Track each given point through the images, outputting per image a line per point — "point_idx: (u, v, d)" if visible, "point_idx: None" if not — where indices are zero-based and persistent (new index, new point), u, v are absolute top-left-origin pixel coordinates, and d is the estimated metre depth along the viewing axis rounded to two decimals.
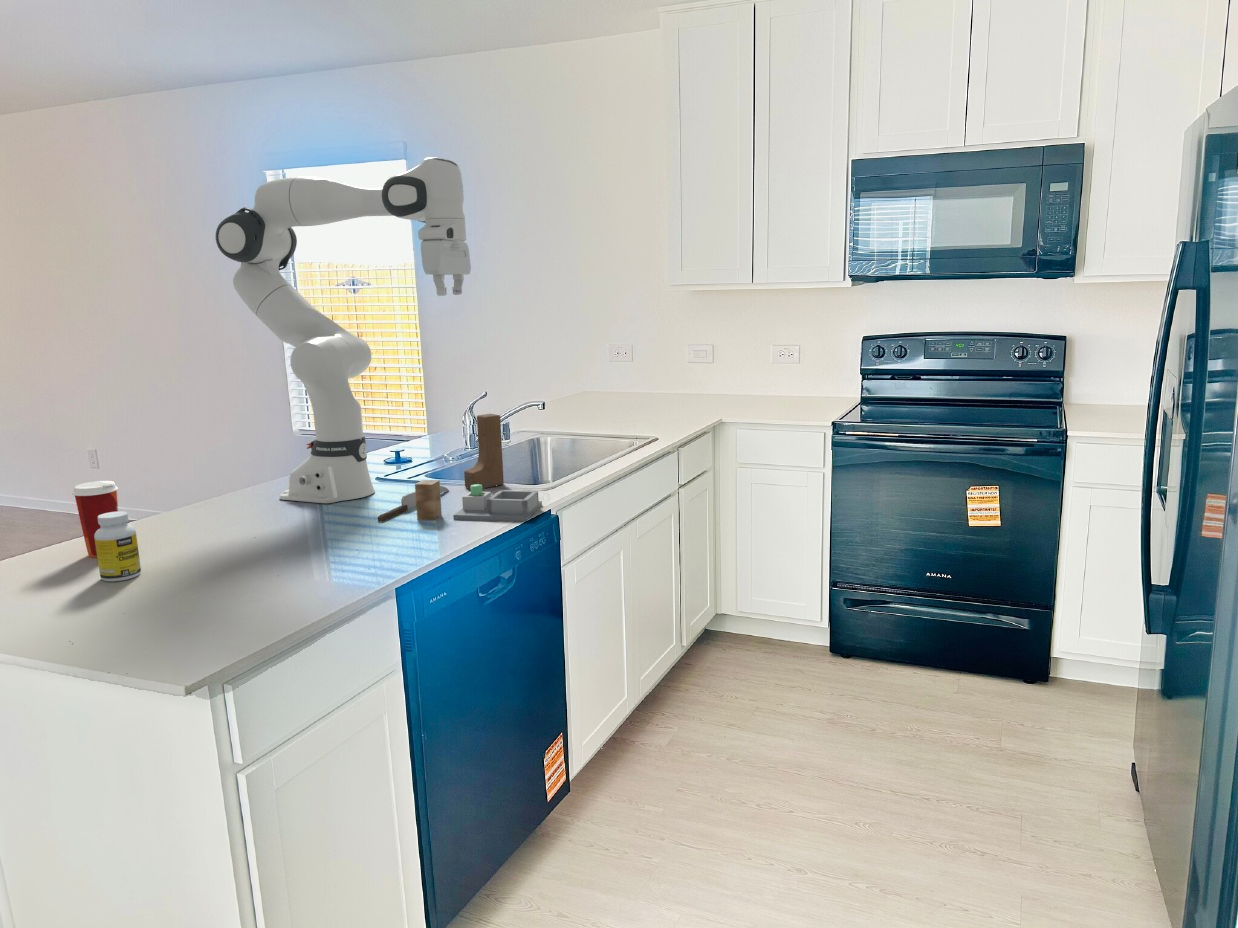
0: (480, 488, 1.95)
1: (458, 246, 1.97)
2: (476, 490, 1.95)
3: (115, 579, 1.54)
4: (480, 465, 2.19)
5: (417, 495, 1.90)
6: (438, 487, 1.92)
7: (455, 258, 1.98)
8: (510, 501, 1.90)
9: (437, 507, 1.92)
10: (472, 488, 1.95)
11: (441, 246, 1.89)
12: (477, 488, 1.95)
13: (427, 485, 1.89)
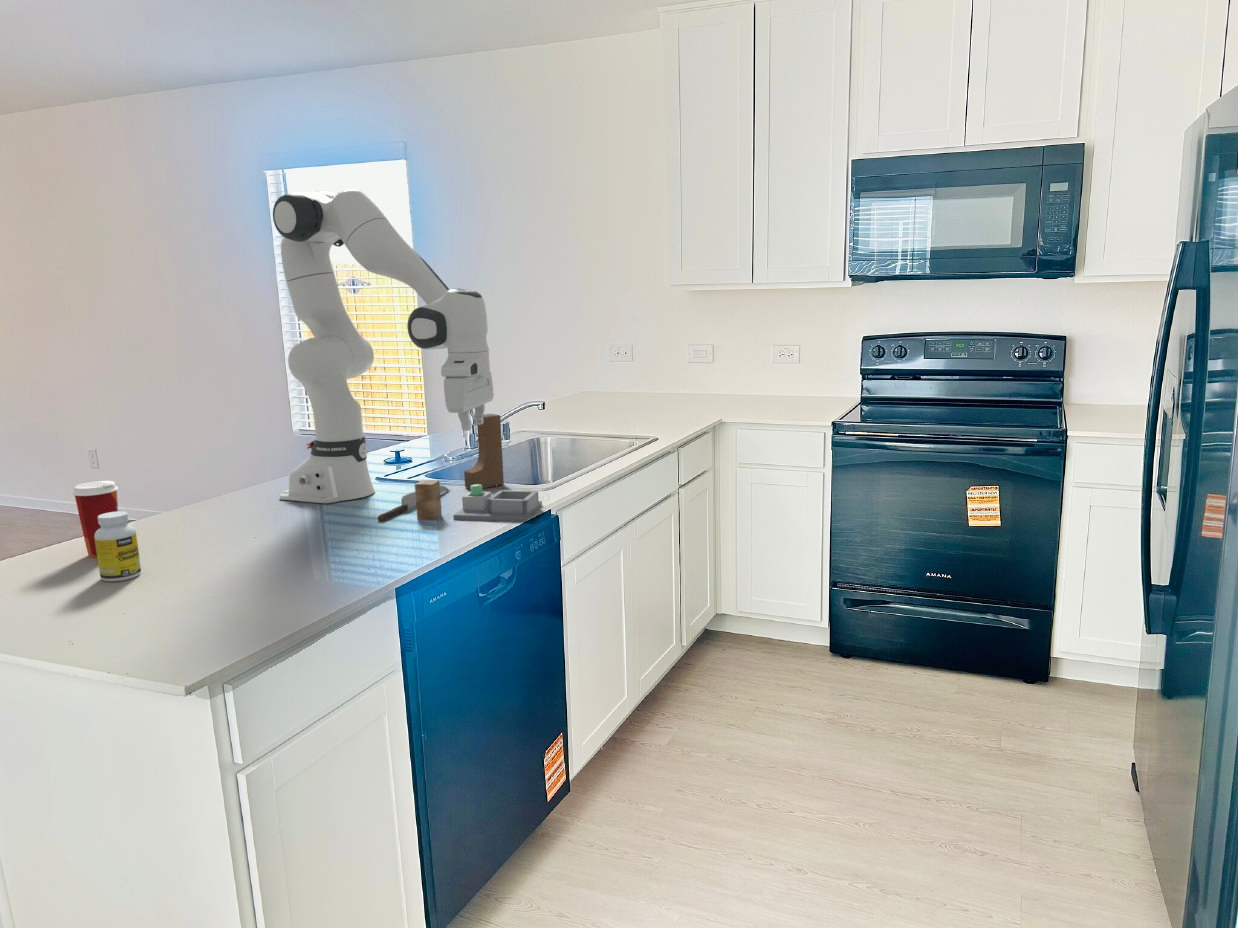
0: (480, 488, 1.95)
1: (482, 379, 1.90)
2: (476, 490, 1.95)
3: (115, 579, 1.54)
4: (480, 465, 2.19)
5: (417, 495, 1.90)
6: (438, 487, 1.92)
7: (478, 390, 1.91)
8: (510, 501, 1.90)
9: (437, 507, 1.92)
10: (472, 488, 1.95)
11: (465, 384, 1.82)
12: (477, 488, 1.95)
13: (427, 485, 1.89)
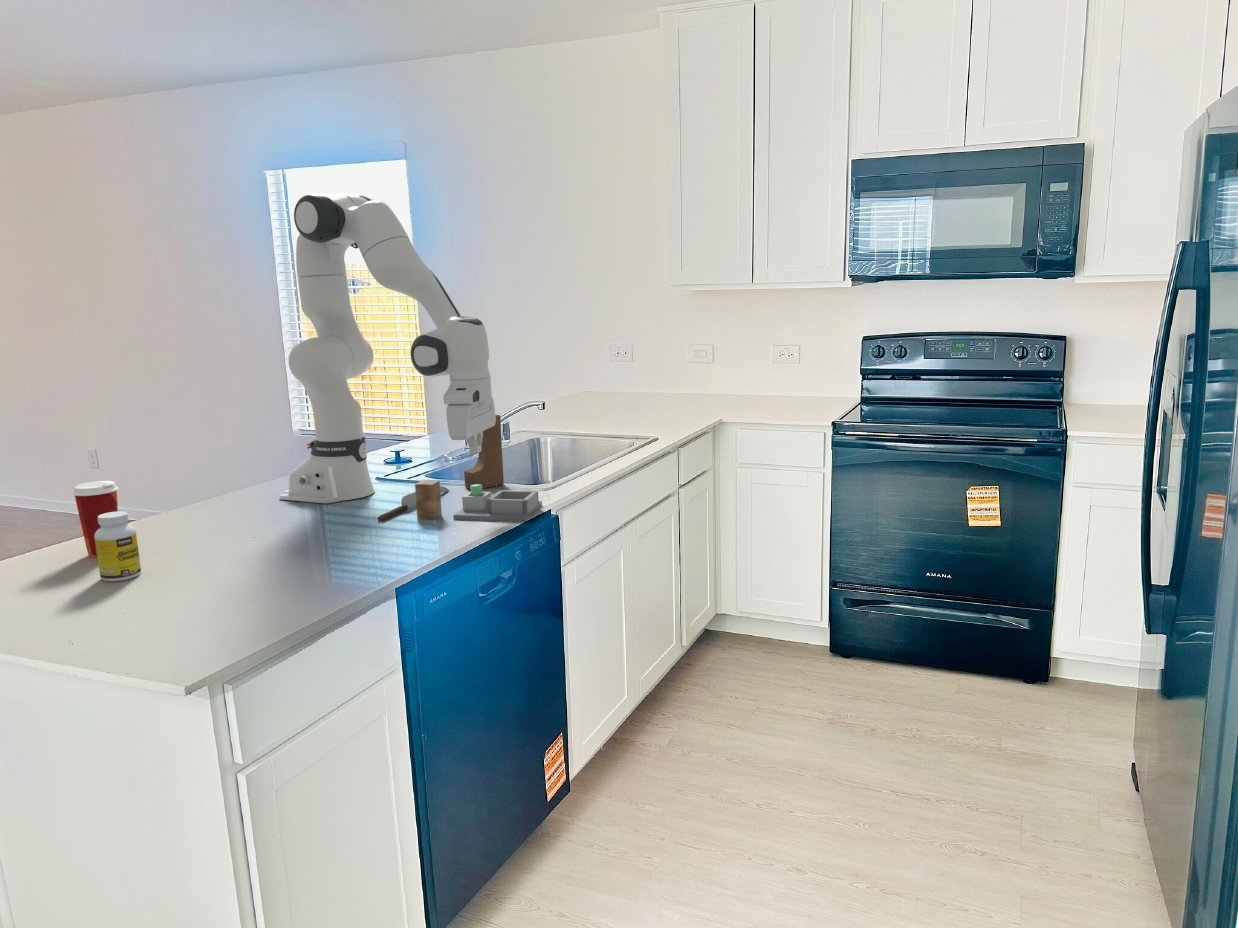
0: (480, 488, 1.95)
1: (484, 405, 1.91)
2: (476, 490, 1.95)
3: (115, 579, 1.54)
4: (480, 465, 2.19)
5: (417, 495, 1.90)
6: (438, 487, 1.92)
7: (481, 416, 1.92)
8: (510, 501, 1.90)
9: (437, 507, 1.92)
10: (472, 488, 1.95)
11: (467, 412, 1.83)
12: (477, 488, 1.95)
13: (427, 485, 1.89)
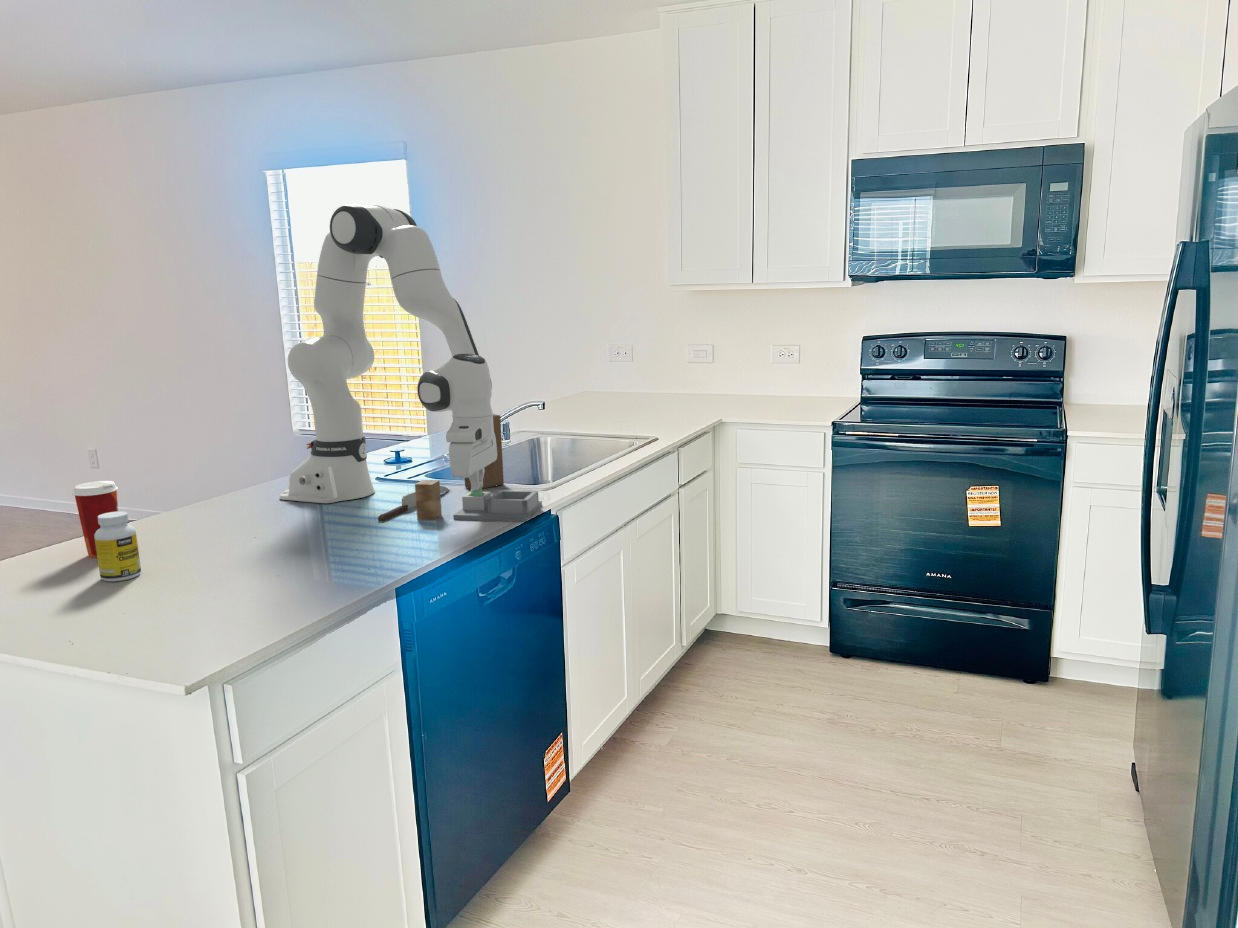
0: (480, 492, 1.95)
1: (486, 442, 1.92)
2: (476, 494, 1.95)
3: (115, 579, 1.54)
4: None
5: (417, 495, 1.90)
6: (438, 487, 1.92)
7: (483, 452, 1.94)
8: (510, 501, 1.90)
9: (437, 507, 1.92)
10: (472, 492, 1.95)
11: (470, 450, 1.85)
12: (477, 492, 1.95)
13: (427, 485, 1.89)
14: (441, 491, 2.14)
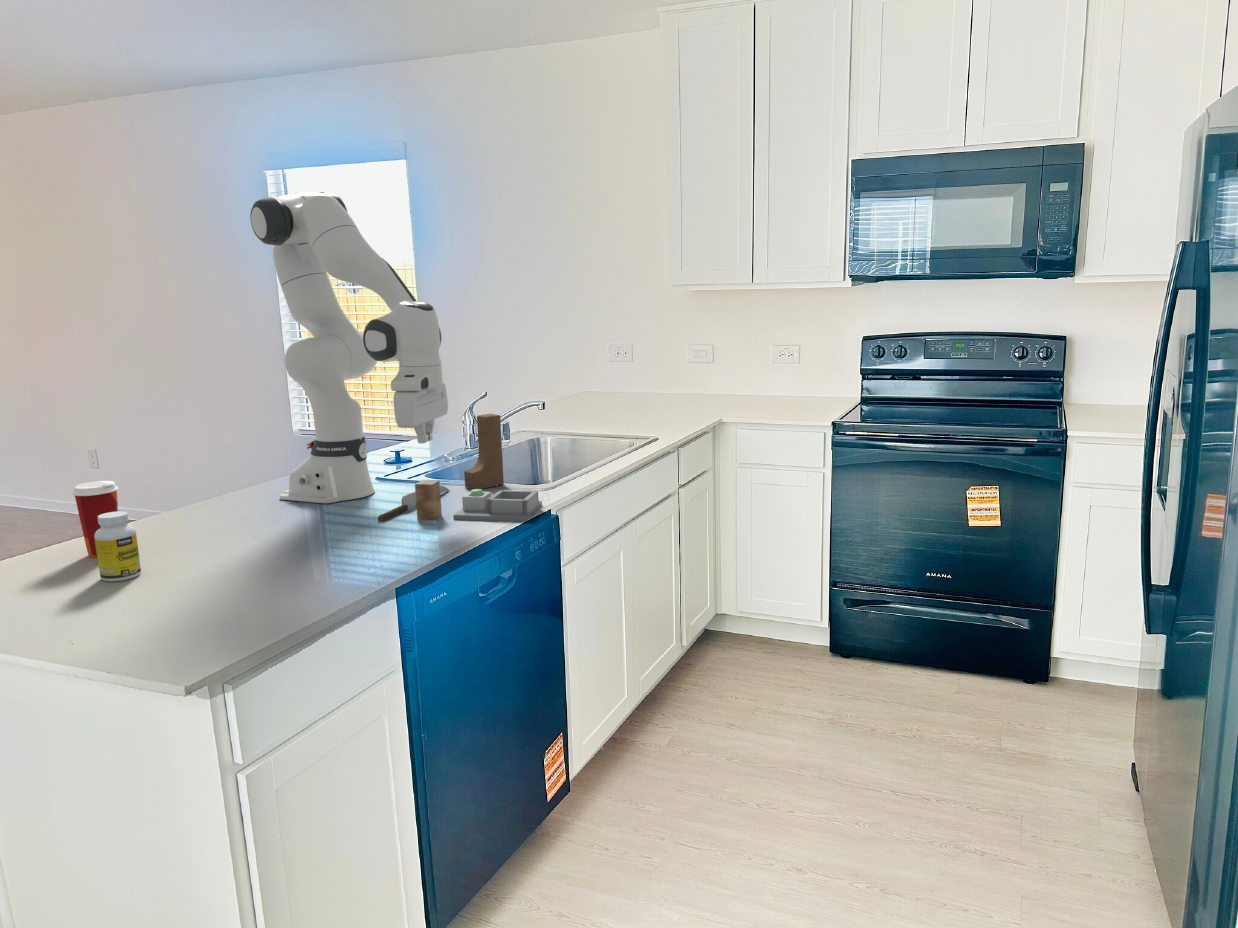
0: (480, 493, 1.95)
1: (434, 393, 1.86)
2: (476, 495, 1.95)
3: (115, 579, 1.54)
4: (480, 465, 2.19)
5: (417, 495, 1.90)
6: (438, 487, 1.92)
7: (431, 404, 1.88)
8: (510, 501, 1.90)
9: (437, 507, 1.92)
10: (472, 493, 1.95)
11: (415, 399, 1.78)
12: (477, 493, 1.95)
13: (427, 485, 1.89)
14: (441, 491, 2.14)
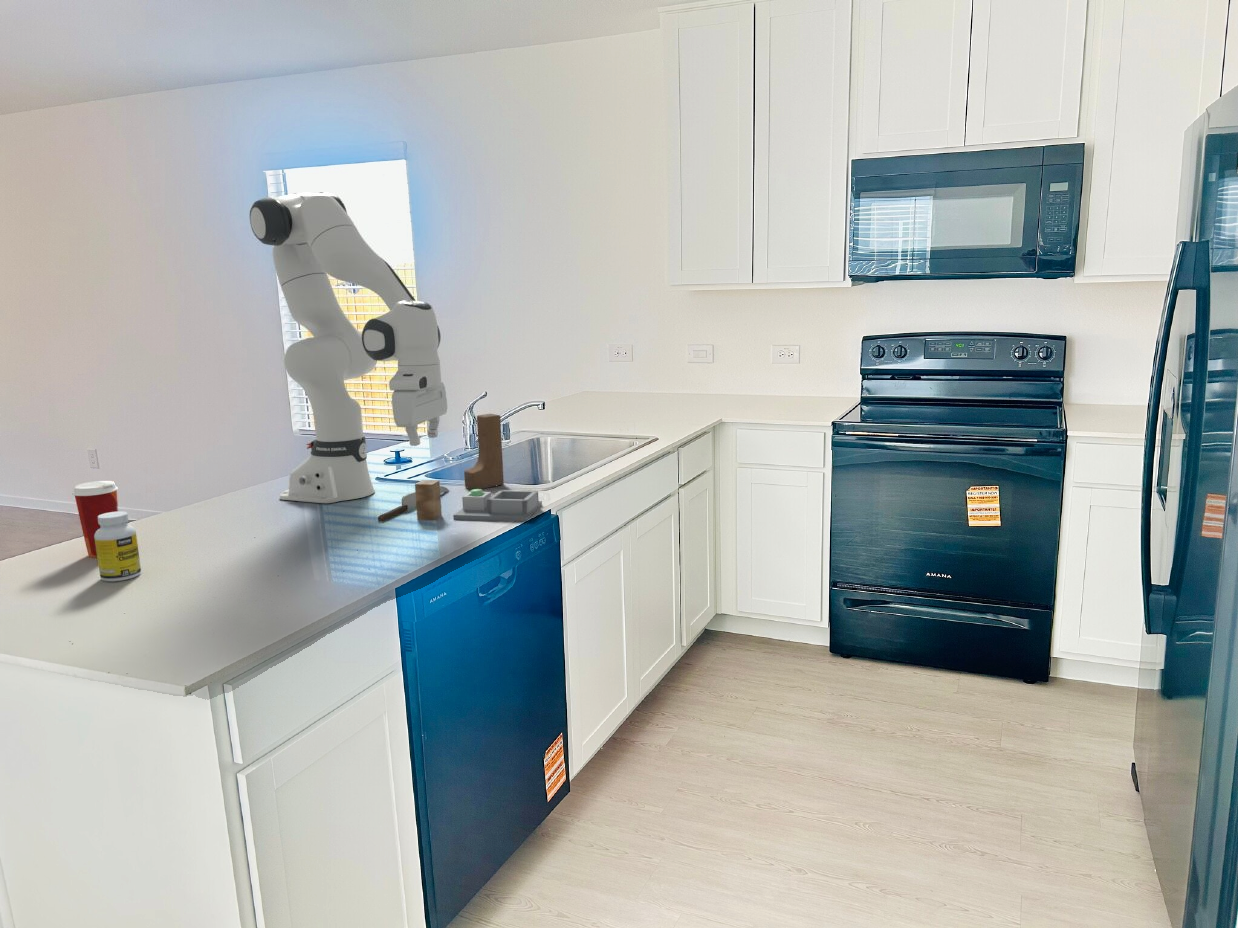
0: (480, 493, 1.95)
1: (432, 392, 1.86)
2: (476, 495, 1.95)
3: (115, 579, 1.54)
4: (480, 465, 2.19)
5: (417, 495, 1.90)
6: (438, 487, 1.92)
7: (429, 403, 1.88)
8: (510, 501, 1.90)
9: (437, 507, 1.92)
10: (472, 493, 1.95)
11: (413, 398, 1.78)
12: (477, 493, 1.95)
13: (427, 485, 1.89)
14: (441, 491, 2.14)
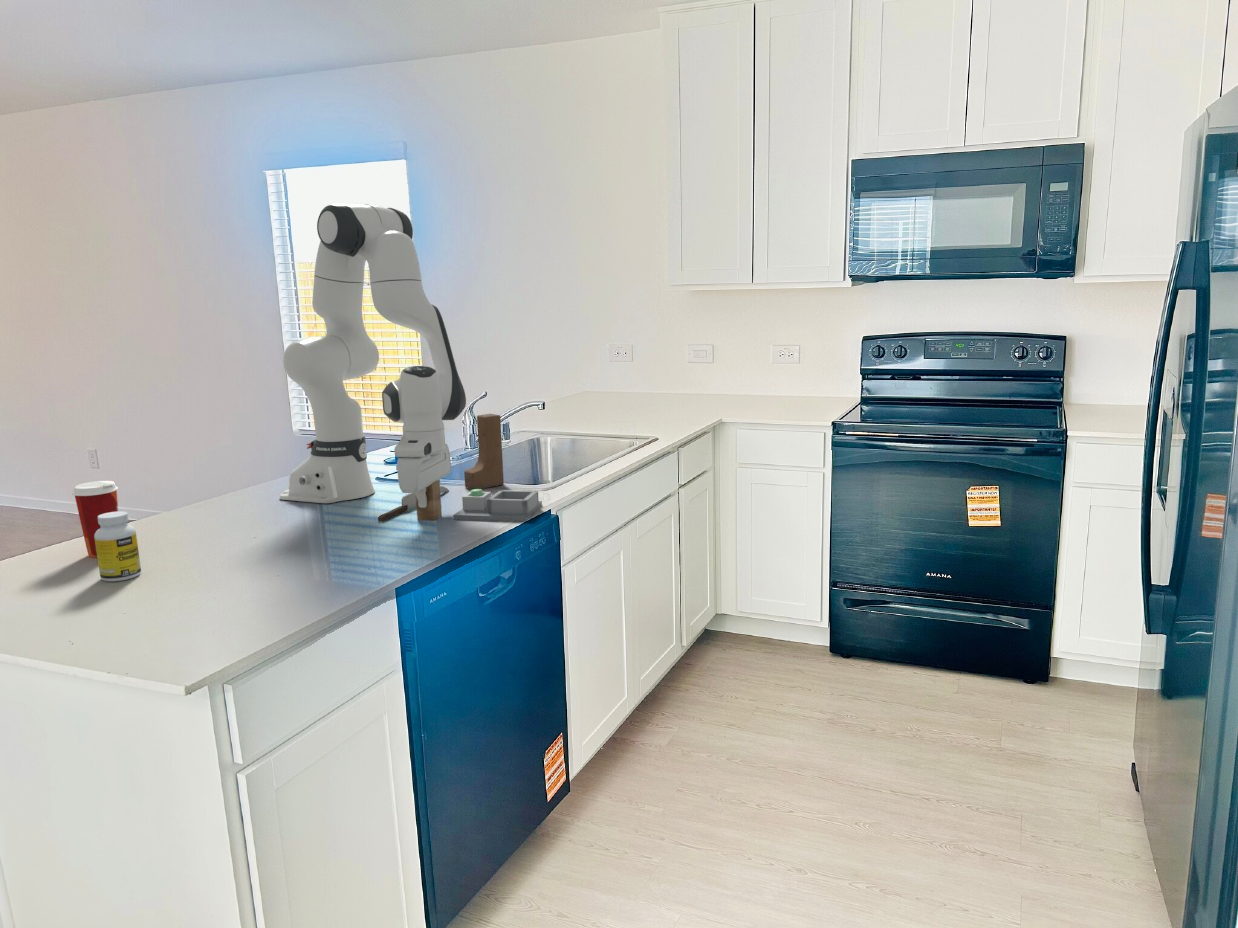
0: (480, 493, 1.95)
1: (437, 456, 1.89)
2: (476, 495, 1.95)
3: (115, 579, 1.54)
4: (480, 465, 2.19)
5: None
6: (438, 487, 1.92)
7: (434, 467, 1.90)
8: (510, 501, 1.90)
9: (437, 507, 1.92)
10: (472, 493, 1.95)
11: (418, 465, 1.81)
12: (477, 493, 1.95)
13: None
14: (441, 491, 2.14)
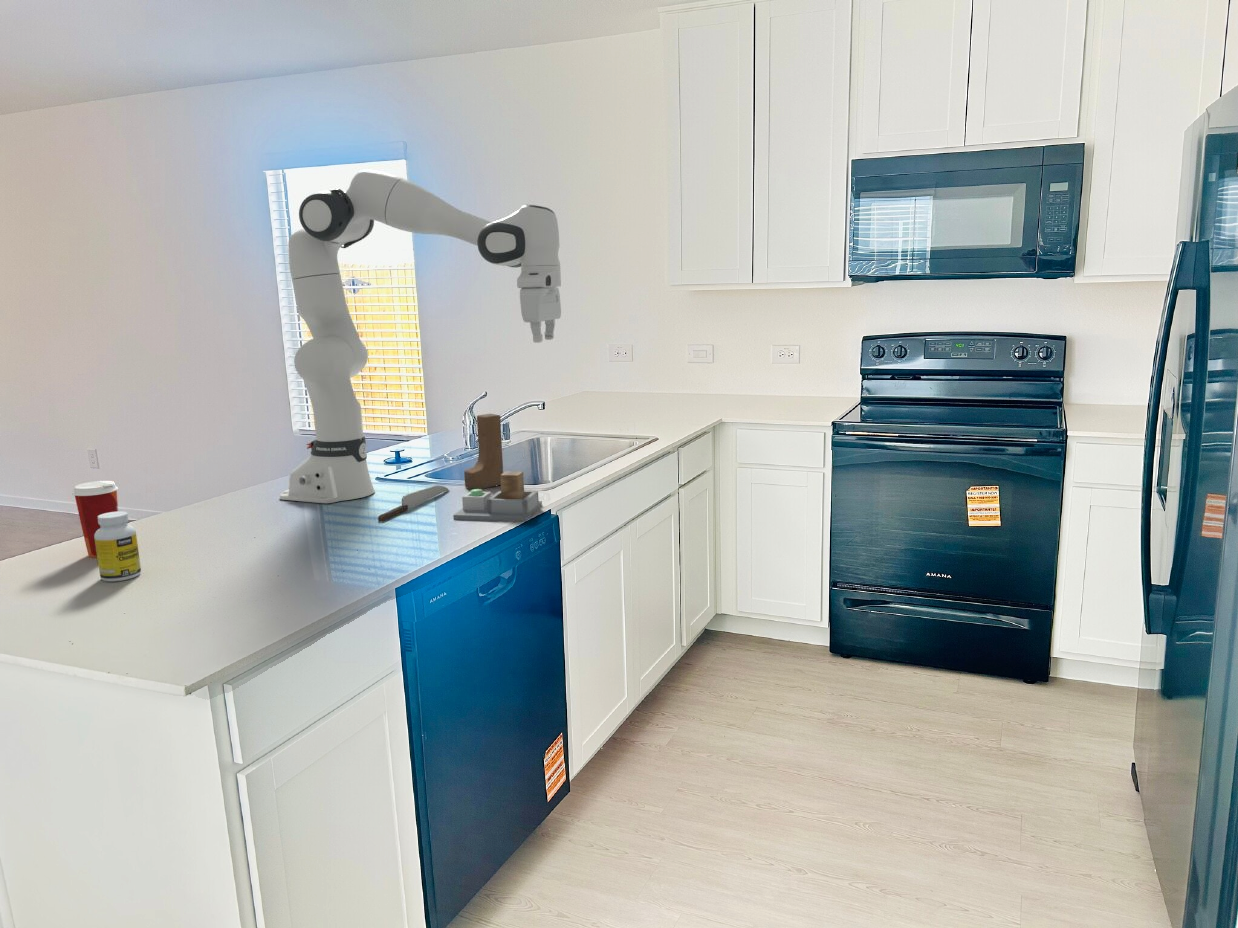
0: (480, 493, 1.95)
1: (553, 292, 1.97)
2: (476, 495, 1.95)
3: (115, 579, 1.54)
4: (480, 465, 2.19)
5: (502, 486, 1.92)
6: (522, 478, 1.95)
7: (550, 304, 1.98)
8: (510, 501, 1.90)
9: (521, 498, 1.94)
10: (472, 493, 1.95)
11: (540, 294, 1.89)
12: (477, 493, 1.95)
13: (513, 476, 1.91)
14: (441, 491, 2.14)
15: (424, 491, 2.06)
